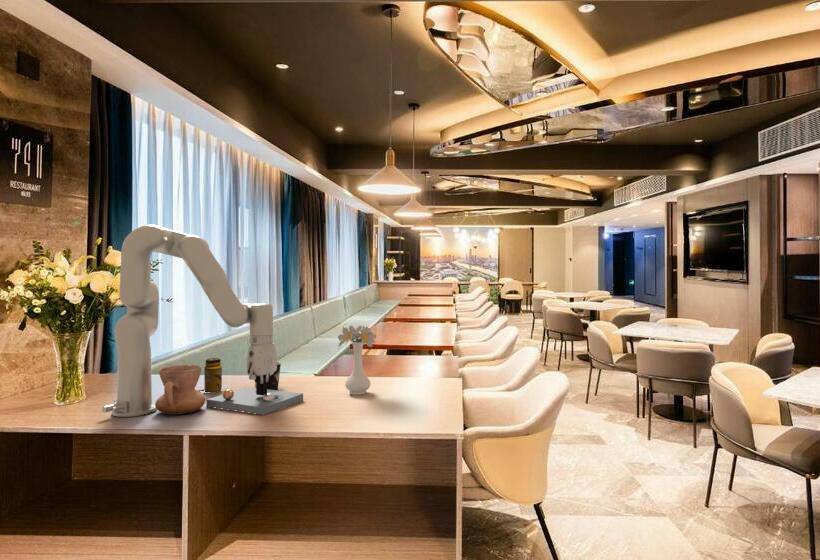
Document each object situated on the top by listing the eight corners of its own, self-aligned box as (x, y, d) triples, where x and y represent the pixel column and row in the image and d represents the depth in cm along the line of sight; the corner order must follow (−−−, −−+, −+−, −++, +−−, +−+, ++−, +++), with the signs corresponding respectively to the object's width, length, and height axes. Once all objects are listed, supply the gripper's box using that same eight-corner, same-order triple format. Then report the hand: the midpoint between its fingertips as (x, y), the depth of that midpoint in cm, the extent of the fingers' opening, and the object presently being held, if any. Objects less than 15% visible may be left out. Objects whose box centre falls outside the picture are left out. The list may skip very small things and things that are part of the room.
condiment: (225, 391, 189) (225, 359, 189) (203, 394, 183) (203, 362, 183) (217, 387, 194) (217, 356, 194) (195, 391, 188) (195, 359, 188)
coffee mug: (266, 393, 184) (266, 366, 184) (252, 390, 189) (252, 364, 189) (291, 388, 193) (291, 362, 193) (277, 385, 199) (277, 359, 198)
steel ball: (270, 406, 165) (264, 395, 165) (263, 409, 168) (258, 398, 168) (279, 400, 169) (273, 389, 169) (272, 403, 171) (266, 393, 171)
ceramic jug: (171, 404, 170) (171, 362, 169) (214, 404, 169) (213, 362, 169) (141, 420, 152) (141, 373, 151) (189, 420, 151) (188, 373, 151)
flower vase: (379, 387, 195) (379, 322, 194) (369, 399, 176) (369, 328, 176) (346, 386, 196) (346, 322, 196) (333, 398, 178) (333, 327, 177)
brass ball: (260, 391, 177) (260, 381, 177) (252, 390, 178) (252, 380, 178) (266, 389, 180) (266, 379, 180) (259, 388, 182) (259, 379, 182)
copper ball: (228, 401, 163) (228, 391, 163) (220, 400, 165) (220, 389, 165) (236, 399, 166) (236, 388, 166) (228, 398, 168) (228, 387, 168)
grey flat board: (206, 406, 166) (206, 399, 166) (249, 393, 184) (249, 386, 184) (263, 415, 156) (263, 407, 156) (303, 400, 174) (303, 393, 174)
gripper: (254, 343, 161) (254, 401, 161) (284, 338, 174) (284, 391, 175) (236, 342, 164) (236, 398, 164) (267, 336, 177) (267, 388, 178)
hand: (261, 394), depth 169 cm, fingers closed
